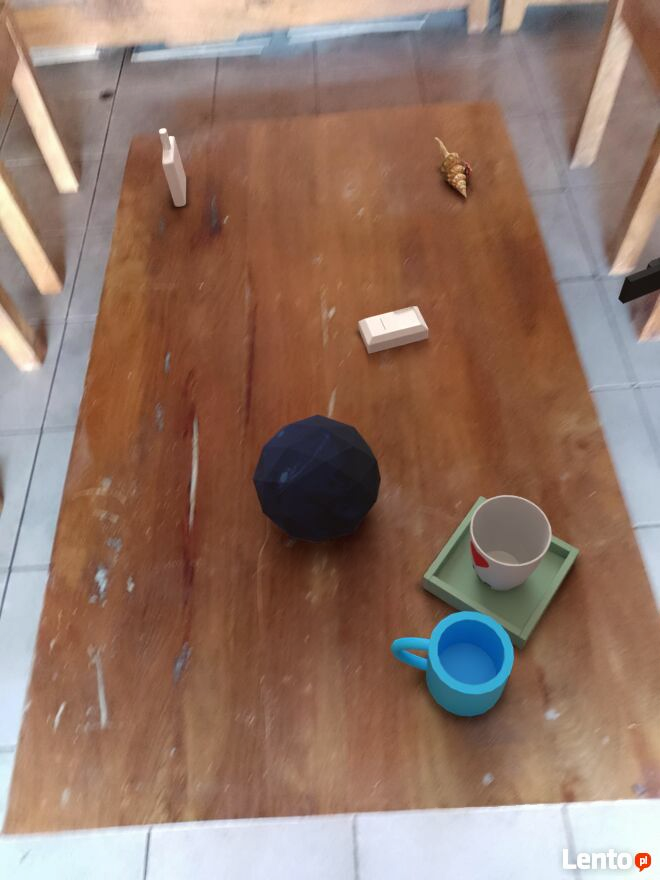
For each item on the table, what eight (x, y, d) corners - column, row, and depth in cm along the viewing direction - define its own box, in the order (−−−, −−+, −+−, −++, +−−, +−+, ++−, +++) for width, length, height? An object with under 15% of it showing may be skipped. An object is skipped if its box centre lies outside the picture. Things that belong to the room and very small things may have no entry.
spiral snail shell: (488, 190, 122) (492, 167, 118) (465, 202, 120) (468, 178, 117) (437, 154, 129) (439, 131, 125) (414, 164, 127) (416, 141, 123)
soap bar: (358, 330, 106) (358, 317, 103) (416, 315, 106) (417, 302, 104) (368, 353, 103) (368, 341, 101) (428, 338, 104) (428, 325, 101)
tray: (574, 561, 82) (580, 550, 80) (521, 650, 77) (525, 640, 75) (478, 507, 87) (480, 495, 85) (422, 587, 82) (422, 576, 80)
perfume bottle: (175, 179, 130) (157, 118, 120) (186, 178, 130) (169, 116, 120) (174, 207, 126) (155, 145, 116) (186, 205, 126) (167, 144, 116)
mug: (508, 648, 77) (518, 620, 71) (498, 725, 73) (508, 703, 66) (399, 623, 80) (399, 595, 73) (383, 696, 75) (381, 673, 69)
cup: (460, 538, 84) (467, 495, 76) (531, 538, 83) (545, 494, 75) (465, 604, 79) (473, 565, 71) (540, 604, 79) (556, 566, 71)
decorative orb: (232, 552, 80) (300, 490, 70) (233, 442, 89) (294, 373, 79) (338, 574, 87) (414, 520, 77) (329, 470, 96) (397, 410, 86)
